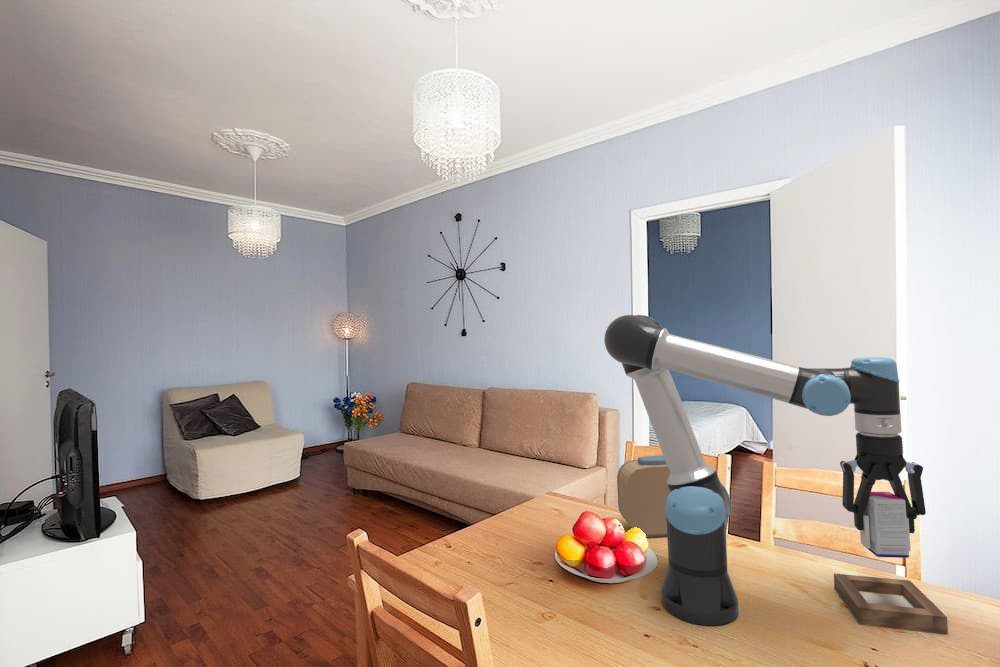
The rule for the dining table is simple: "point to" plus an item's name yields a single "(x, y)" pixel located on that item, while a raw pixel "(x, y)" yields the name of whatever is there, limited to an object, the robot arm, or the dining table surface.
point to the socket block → (889, 603)
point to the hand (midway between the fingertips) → (885, 546)
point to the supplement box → (887, 525)
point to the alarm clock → (644, 494)
